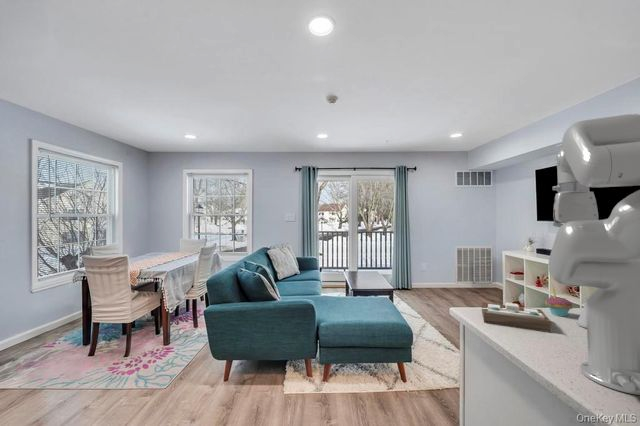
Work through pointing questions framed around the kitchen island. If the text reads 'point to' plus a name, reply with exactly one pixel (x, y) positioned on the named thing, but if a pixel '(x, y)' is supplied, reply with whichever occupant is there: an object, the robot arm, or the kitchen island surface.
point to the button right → (531, 310)
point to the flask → (583, 316)
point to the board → (516, 318)
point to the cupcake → (558, 305)
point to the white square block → (493, 306)
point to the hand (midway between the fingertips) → (575, 244)
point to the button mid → (511, 306)
